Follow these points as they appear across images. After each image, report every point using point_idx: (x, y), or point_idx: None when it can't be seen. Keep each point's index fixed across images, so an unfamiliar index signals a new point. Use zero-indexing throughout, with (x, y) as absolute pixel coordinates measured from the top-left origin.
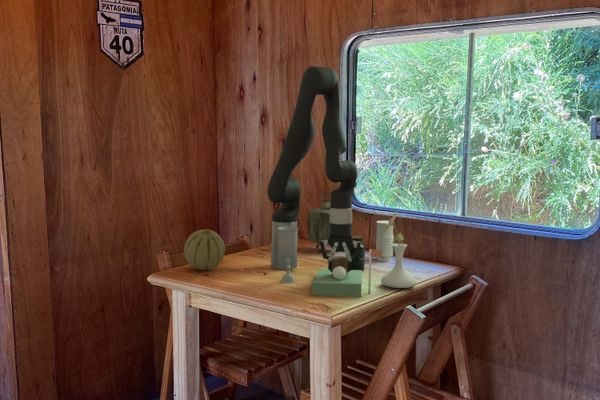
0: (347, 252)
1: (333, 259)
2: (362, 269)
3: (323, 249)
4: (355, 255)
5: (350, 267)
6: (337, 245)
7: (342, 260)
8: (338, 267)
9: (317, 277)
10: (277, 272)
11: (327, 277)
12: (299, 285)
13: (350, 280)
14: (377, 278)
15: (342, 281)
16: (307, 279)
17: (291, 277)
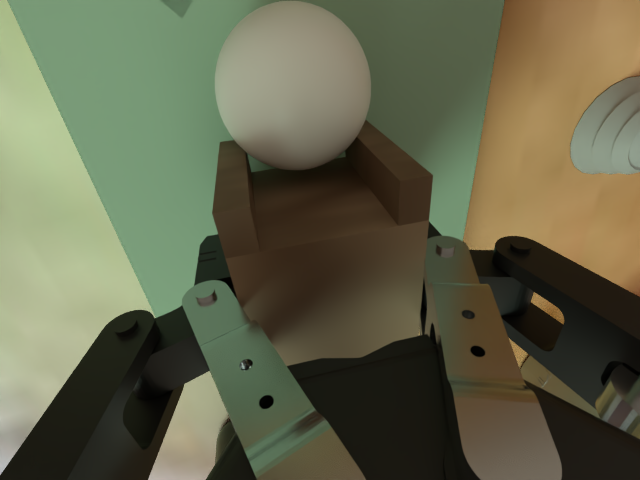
0: (234, 356)
1: (412, 212)
2: (220, 432)
3: (622, 311)
4: (114, 358)
5: (208, 253)
6: (460, 421)
7: (292, 237)
8: (313, 66)
9: (473, 104)
10: (618, 279)
11: (393, 128)
12: (569, 35)
13: (167, 71)
14: (84, 351)
15: (237, 3)
16: (495, 204)
17: (634, 114)
